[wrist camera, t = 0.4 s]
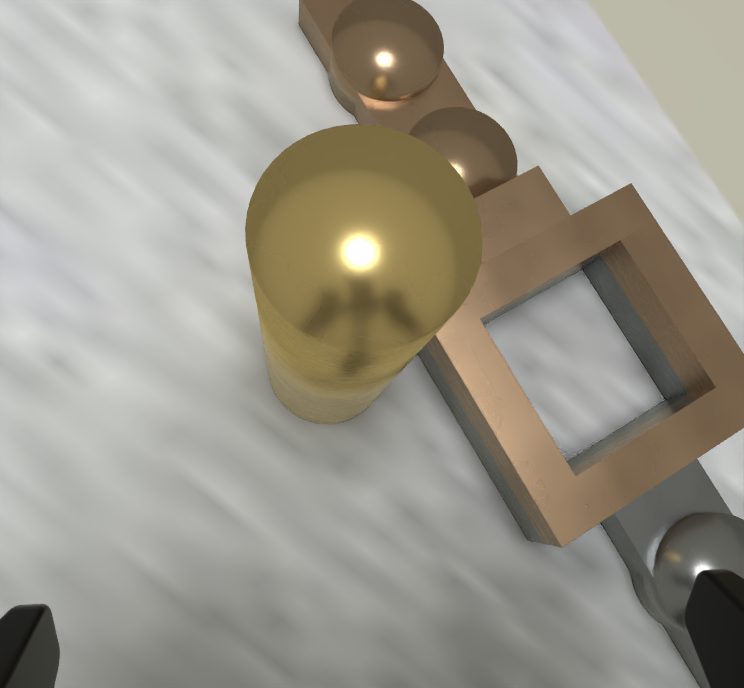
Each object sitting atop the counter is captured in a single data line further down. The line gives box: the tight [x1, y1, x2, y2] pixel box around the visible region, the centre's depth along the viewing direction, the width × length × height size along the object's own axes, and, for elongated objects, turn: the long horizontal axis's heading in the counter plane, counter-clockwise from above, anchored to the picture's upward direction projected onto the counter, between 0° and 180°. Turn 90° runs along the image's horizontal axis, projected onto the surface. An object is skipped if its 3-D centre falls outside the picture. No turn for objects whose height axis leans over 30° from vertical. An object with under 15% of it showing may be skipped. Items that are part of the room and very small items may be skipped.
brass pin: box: [245, 124, 483, 424], centre depth 18 cm, size 4×4×12 cm
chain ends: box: [299, 0, 744, 688], centre depth 23 cm, size 33×9×3 cm, turn 30°
